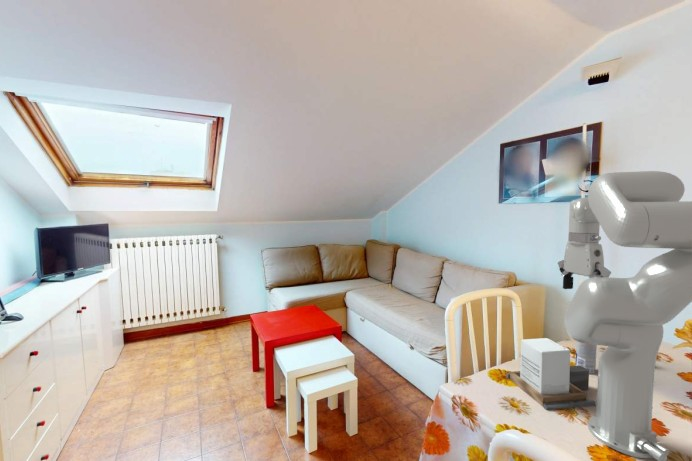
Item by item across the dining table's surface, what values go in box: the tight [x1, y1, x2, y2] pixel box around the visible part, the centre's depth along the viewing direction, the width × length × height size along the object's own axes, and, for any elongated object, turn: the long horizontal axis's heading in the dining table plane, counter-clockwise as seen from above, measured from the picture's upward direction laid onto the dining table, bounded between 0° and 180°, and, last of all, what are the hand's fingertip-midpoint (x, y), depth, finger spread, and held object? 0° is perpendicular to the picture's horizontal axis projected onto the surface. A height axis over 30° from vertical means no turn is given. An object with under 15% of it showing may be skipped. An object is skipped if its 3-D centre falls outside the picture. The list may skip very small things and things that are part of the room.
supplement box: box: [519, 337, 571, 396], centre depth 89 cm, size 9×9×15 cm
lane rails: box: [505, 372, 597, 411], centre depth 90 cm, size 17×15×2 cm
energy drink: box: [574, 340, 598, 375], centre depth 102 cm, size 5×5×12 cm
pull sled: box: [509, 365, 590, 407], centre depth 91 cm, size 14×20×6 cm
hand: (580, 292), depth 95 cm, fingers open, 9 cm apart
